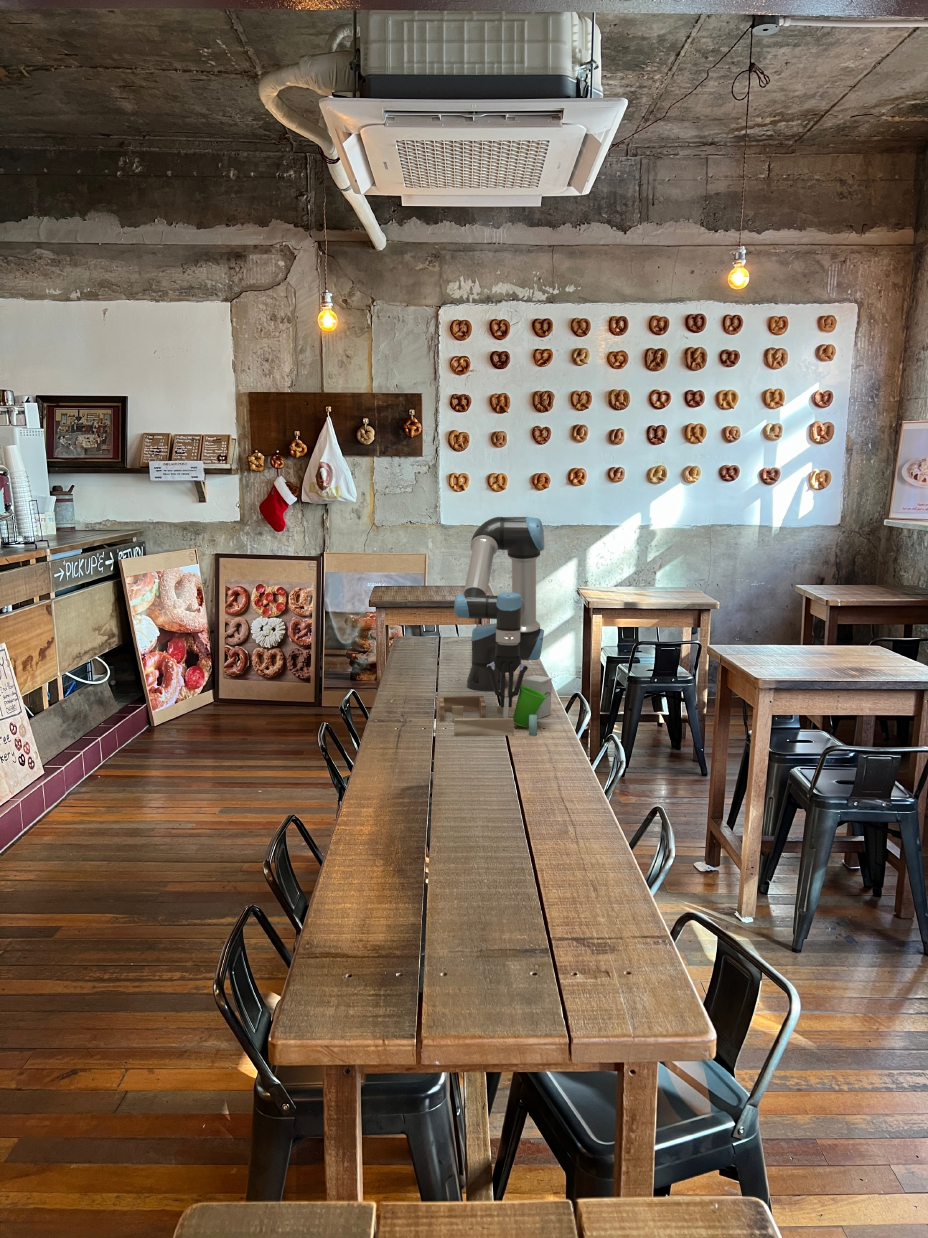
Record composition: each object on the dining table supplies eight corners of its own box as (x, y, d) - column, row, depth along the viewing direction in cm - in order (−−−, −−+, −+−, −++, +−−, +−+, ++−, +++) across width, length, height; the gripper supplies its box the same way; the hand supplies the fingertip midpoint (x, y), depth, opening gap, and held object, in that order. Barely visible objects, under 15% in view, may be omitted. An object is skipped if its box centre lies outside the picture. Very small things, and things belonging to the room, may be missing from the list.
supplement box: (539, 719, 283) (540, 681, 281) (520, 715, 287) (521, 678, 285) (551, 714, 288) (552, 677, 286) (532, 711, 293) (533, 674, 291)
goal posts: (522, 719, 282) (522, 701, 281) (529, 719, 282) (530, 701, 281) (529, 735, 265) (529, 716, 264) (537, 735, 265) (537, 716, 264)
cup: (533, 732, 269) (547, 700, 268) (506, 721, 269) (519, 689, 268) (533, 726, 278) (546, 694, 276) (506, 715, 278) (519, 683, 277)
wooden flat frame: (438, 710, 292) (438, 696, 292) (504, 710, 294) (504, 695, 293) (441, 736, 264) (441, 720, 264) (513, 735, 266) (513, 719, 265)
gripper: (488, 644, 265) (485, 720, 268) (530, 645, 265) (527, 720, 269) (486, 640, 272) (484, 714, 276) (527, 641, 273) (524, 714, 276)
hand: (505, 717), depth 272 cm, fingers closed
